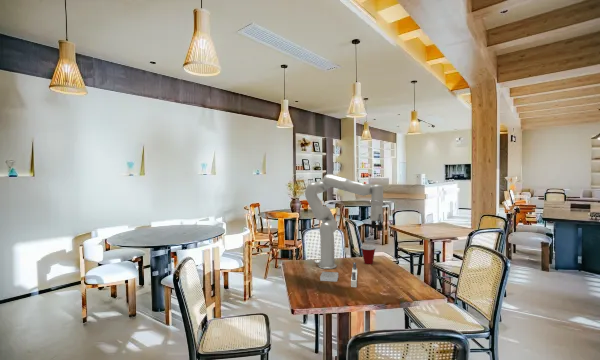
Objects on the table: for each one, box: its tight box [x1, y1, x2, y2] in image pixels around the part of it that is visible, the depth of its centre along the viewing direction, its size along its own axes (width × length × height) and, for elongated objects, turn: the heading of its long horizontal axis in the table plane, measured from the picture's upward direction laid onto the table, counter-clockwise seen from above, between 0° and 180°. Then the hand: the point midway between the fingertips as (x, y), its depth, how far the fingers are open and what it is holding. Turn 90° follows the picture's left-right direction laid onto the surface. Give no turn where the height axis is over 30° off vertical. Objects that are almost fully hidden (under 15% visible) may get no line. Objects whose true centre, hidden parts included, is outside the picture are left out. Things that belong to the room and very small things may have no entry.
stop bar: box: [350, 262, 358, 288], centre depth 192 cm, size 3×26×8 cm, turn 169°
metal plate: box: [319, 271, 339, 283], centre depth 195 cm, size 10×10×3 cm
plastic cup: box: [360, 244, 377, 265], centre depth 230 cm, size 11×11×12 cm
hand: (376, 229), depth 209 cm, fingers open, 9 cm apart
